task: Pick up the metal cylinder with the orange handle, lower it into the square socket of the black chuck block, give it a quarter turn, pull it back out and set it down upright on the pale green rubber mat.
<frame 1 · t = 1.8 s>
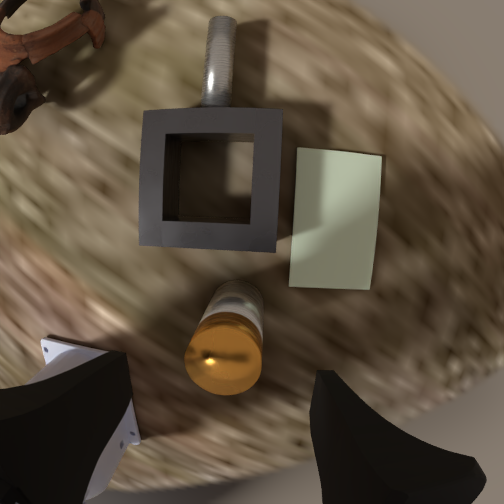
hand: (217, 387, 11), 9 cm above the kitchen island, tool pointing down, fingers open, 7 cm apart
metal cylinder: (237, 304, 19), on the kitchen island
chuck block: (216, 178, 18), on the kitchen island
mat: (335, 220, 18), on the kitchen island
brown looped band: (55, 65, 17), on the kitchen island
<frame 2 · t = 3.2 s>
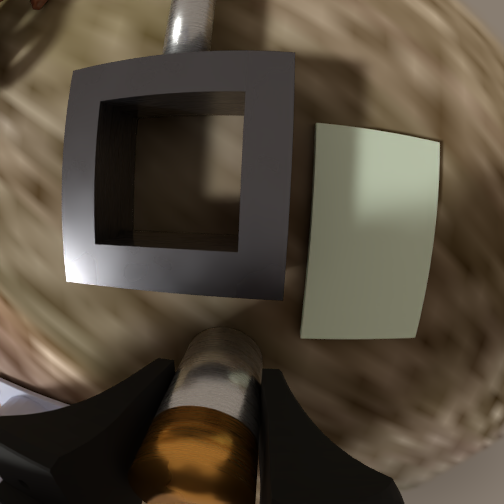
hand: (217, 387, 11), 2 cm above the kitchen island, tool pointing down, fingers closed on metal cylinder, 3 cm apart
metal cylinder: (224, 360, 13), on the kitchen island, touching gripper
chuck block: (188, 173, 11), on the kitchen island
mat: (373, 238, 11), on the kitchen island
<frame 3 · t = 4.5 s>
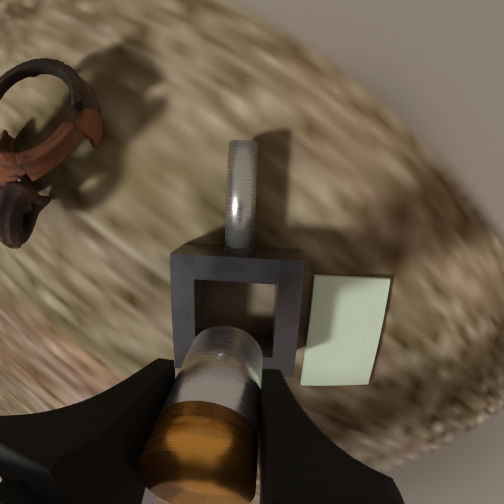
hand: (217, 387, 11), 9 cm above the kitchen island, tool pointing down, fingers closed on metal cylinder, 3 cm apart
metal cylinder: (225, 357, 13), point 7 cm above the kitchen island, touching gripper
chuck block: (239, 301, 20), on the kitchen island
mat: (343, 333, 20), on the kitchen island
brown looped band: (54, 155, 19), on the kitchen island
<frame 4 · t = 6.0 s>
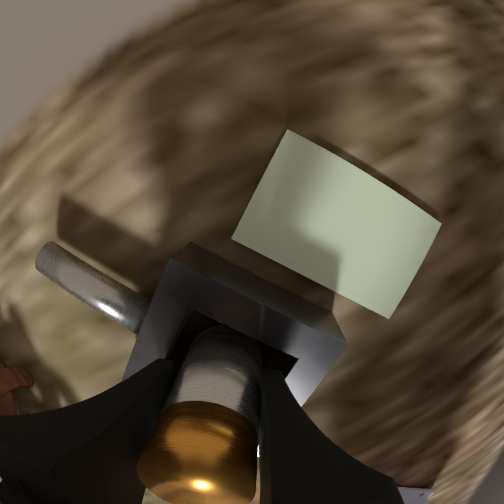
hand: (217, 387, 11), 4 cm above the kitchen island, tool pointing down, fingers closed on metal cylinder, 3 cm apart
metal cylinder: (225, 357, 13), point 1 cm above the kitchen island, touching gripper
chuck block: (228, 342, 14), on the kitchen island
mat: (343, 228, 13), on the kitchen island
brown looped band: (39, 414, 17), on the kitchen island
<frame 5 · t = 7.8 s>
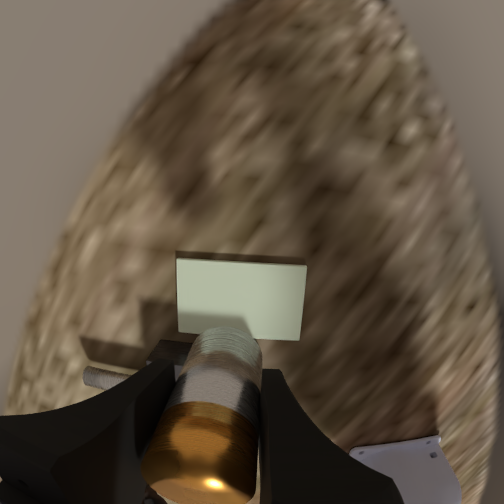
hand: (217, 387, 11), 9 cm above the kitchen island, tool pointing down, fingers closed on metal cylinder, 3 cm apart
metal cylinder: (226, 357, 13), point 7 cm above the kitchen island, touching gripper
chuck block: (209, 385, 21), on the kitchen island
mat: (239, 299, 20), on the kitchen island
when the fingers open (3 cm above the kitchen island, at t = 9.2 s): metal cylinder stays where it is, resting on mat.
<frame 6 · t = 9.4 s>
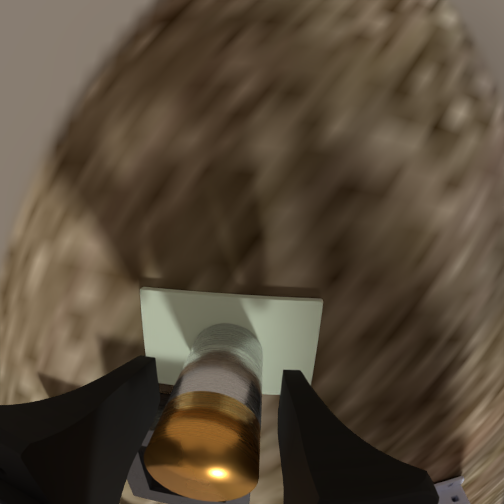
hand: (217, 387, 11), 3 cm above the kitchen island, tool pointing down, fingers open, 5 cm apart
metal cylinder: (227, 354, 14), resting on mat
chuck block: (193, 440, 15), on the kitchen island
mat: (228, 344, 14), on the kitchen island
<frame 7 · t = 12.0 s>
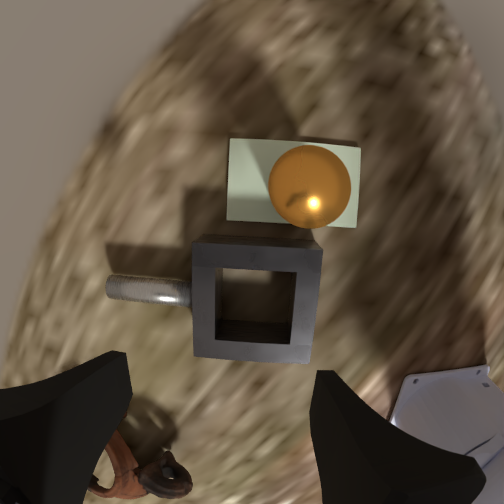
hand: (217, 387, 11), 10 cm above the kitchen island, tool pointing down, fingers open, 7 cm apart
metal cylinder: (295, 187, 18), resting on mat
chuck block: (256, 290, 20), on the kitchen island
mat: (294, 182, 19), on the kitchen island
brown looped band: (140, 441, 24), on the kitchen island
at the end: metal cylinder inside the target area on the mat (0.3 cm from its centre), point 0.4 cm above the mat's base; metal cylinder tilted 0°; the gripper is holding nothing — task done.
